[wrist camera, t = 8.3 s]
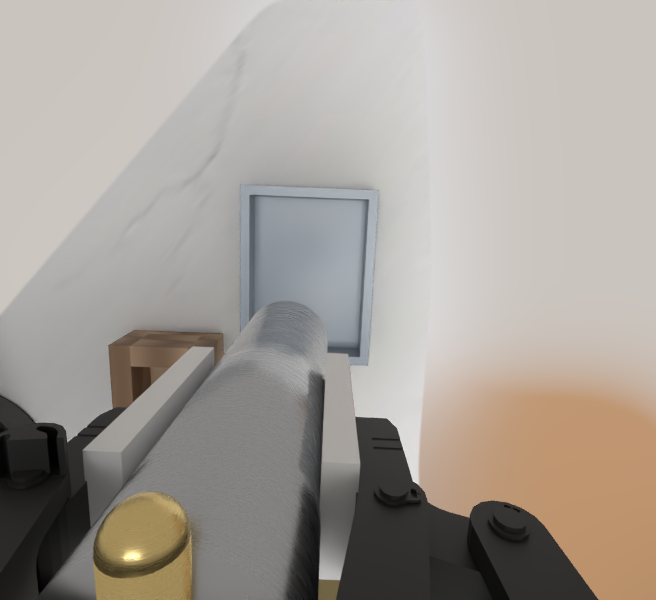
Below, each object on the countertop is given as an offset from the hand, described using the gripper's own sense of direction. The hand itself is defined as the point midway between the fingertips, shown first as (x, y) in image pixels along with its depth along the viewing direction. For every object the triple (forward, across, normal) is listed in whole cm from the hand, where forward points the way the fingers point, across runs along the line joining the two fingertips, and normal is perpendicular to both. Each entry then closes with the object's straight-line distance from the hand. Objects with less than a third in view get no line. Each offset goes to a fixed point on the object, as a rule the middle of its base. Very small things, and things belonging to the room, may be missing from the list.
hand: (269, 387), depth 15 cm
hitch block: (+27, -13, -11) cm, 32 cm away
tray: (+27, 0, 0) cm, 27 cm away
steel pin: (+6, 0, 0) cm, 6 cm away
